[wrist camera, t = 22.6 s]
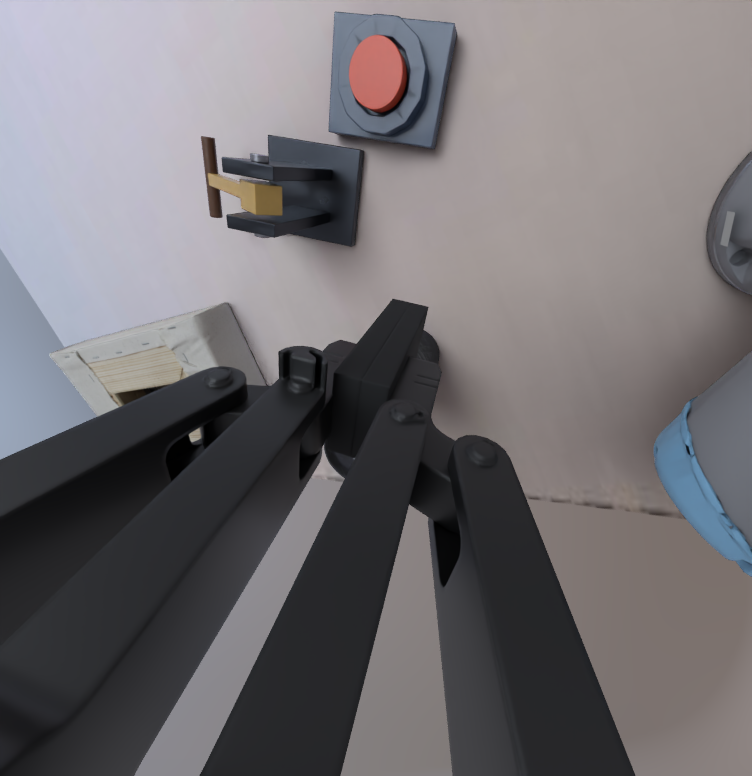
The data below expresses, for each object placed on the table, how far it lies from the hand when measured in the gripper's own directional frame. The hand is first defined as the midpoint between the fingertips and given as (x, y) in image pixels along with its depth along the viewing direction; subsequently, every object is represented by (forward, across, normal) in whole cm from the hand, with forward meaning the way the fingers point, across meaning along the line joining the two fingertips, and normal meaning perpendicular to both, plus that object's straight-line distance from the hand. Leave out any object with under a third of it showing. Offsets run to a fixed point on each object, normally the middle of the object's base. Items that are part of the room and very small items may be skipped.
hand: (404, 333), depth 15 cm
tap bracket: (+26, +16, -2) cm, 31 cm away
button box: (+26, +9, -12) cm, 30 cm away
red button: (+23, +9, -11) cm, 27 cm away
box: (+27, +38, +30) cm, 55 cm away
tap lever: (+19, +20, -2) cm, 28 cm away
